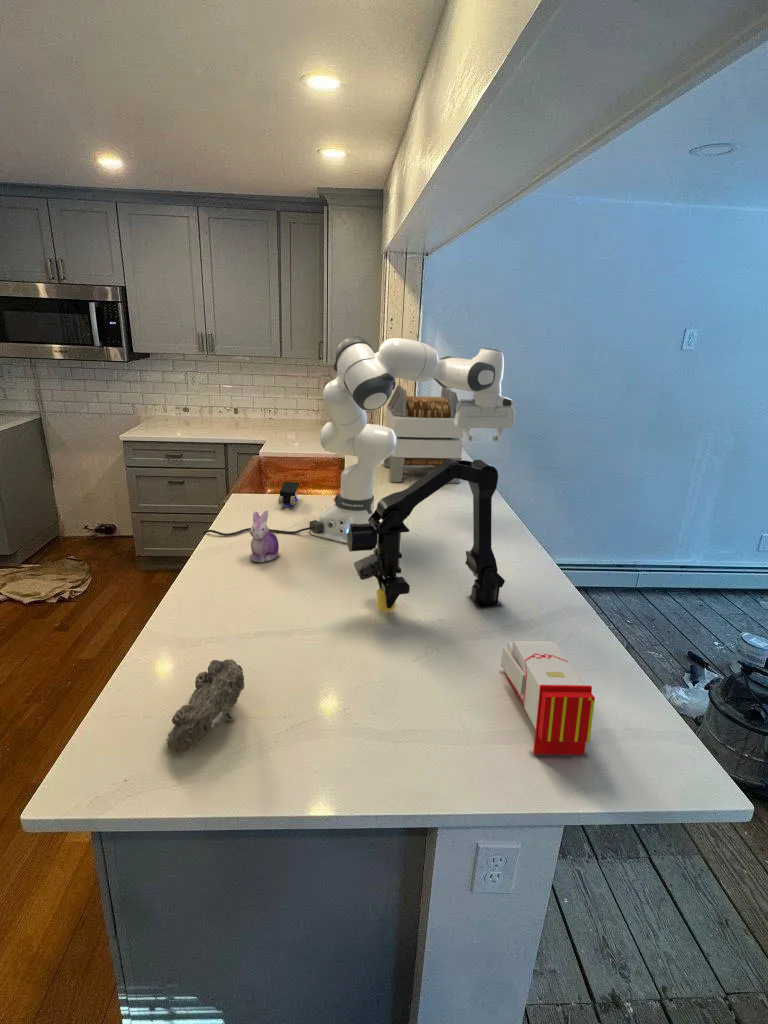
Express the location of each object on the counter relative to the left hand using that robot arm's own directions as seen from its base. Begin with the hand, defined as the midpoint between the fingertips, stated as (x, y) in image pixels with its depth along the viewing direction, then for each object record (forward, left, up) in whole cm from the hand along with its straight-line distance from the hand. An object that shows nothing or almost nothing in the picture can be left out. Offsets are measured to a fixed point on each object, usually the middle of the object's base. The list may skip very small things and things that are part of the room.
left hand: (482, 440), depth 191 cm
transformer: (-35, +70, -34) cm, 86 cm away
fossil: (-35, -113, -34) cm, 123 cm away
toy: (+25, -89, -34) cm, 99 cm away
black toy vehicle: (-73, +4, -34) cm, 81 cm away
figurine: (-59, -44, -34) cm, 81 cm away
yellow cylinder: (-14, -64, -32) cm, 73 cm away
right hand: (-14, -64, -31) cm, 72 cm away
